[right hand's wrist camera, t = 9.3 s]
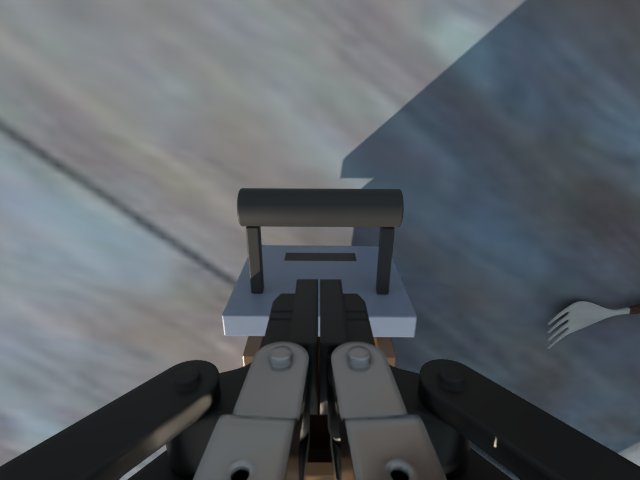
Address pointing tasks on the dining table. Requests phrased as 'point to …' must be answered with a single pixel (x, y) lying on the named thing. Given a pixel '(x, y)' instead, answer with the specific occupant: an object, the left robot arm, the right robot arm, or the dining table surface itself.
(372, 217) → the drawer
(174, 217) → the dining table surface
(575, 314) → the fork
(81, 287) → the dining table surface
